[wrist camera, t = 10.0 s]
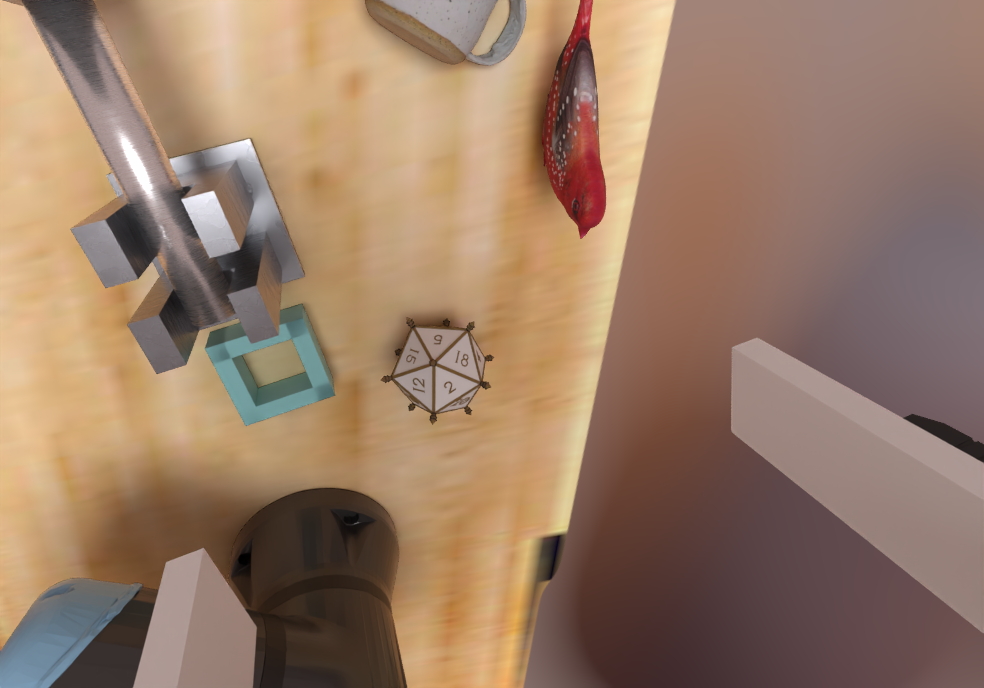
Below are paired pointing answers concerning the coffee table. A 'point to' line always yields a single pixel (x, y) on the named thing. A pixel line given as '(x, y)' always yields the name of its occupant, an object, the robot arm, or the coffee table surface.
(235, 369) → the frame
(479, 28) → the ceramic mug
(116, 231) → the stand
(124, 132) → the grey piece
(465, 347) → the game die
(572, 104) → the decorative bird figurine
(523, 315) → the coffee table surface
